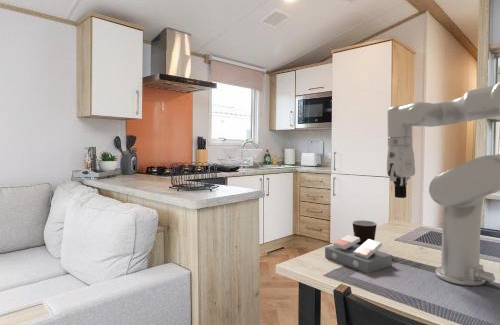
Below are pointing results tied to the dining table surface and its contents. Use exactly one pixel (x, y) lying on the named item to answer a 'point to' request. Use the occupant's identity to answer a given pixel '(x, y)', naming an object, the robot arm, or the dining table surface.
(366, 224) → the coffee mug
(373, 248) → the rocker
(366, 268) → the rocker switch panel
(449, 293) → the dining table surface
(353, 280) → the dining table surface
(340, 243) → the rocker
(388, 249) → the dining table surface
